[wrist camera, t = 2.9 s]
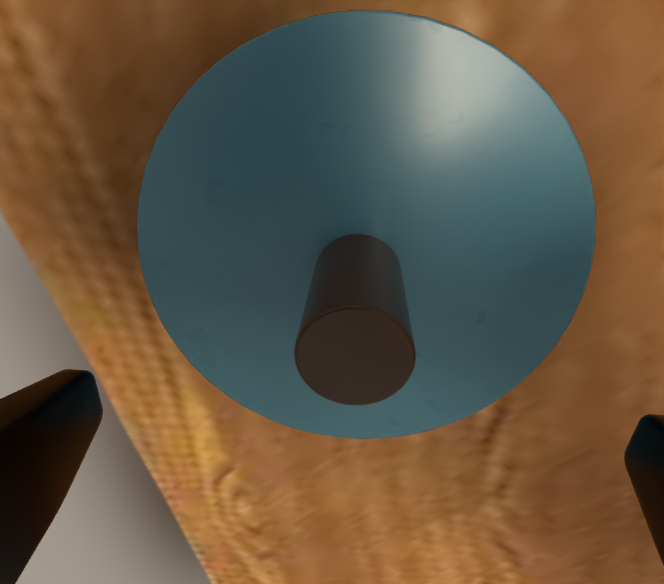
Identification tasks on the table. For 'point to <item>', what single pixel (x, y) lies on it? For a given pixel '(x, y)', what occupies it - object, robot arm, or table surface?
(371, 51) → the tin lid
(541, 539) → the table surface
